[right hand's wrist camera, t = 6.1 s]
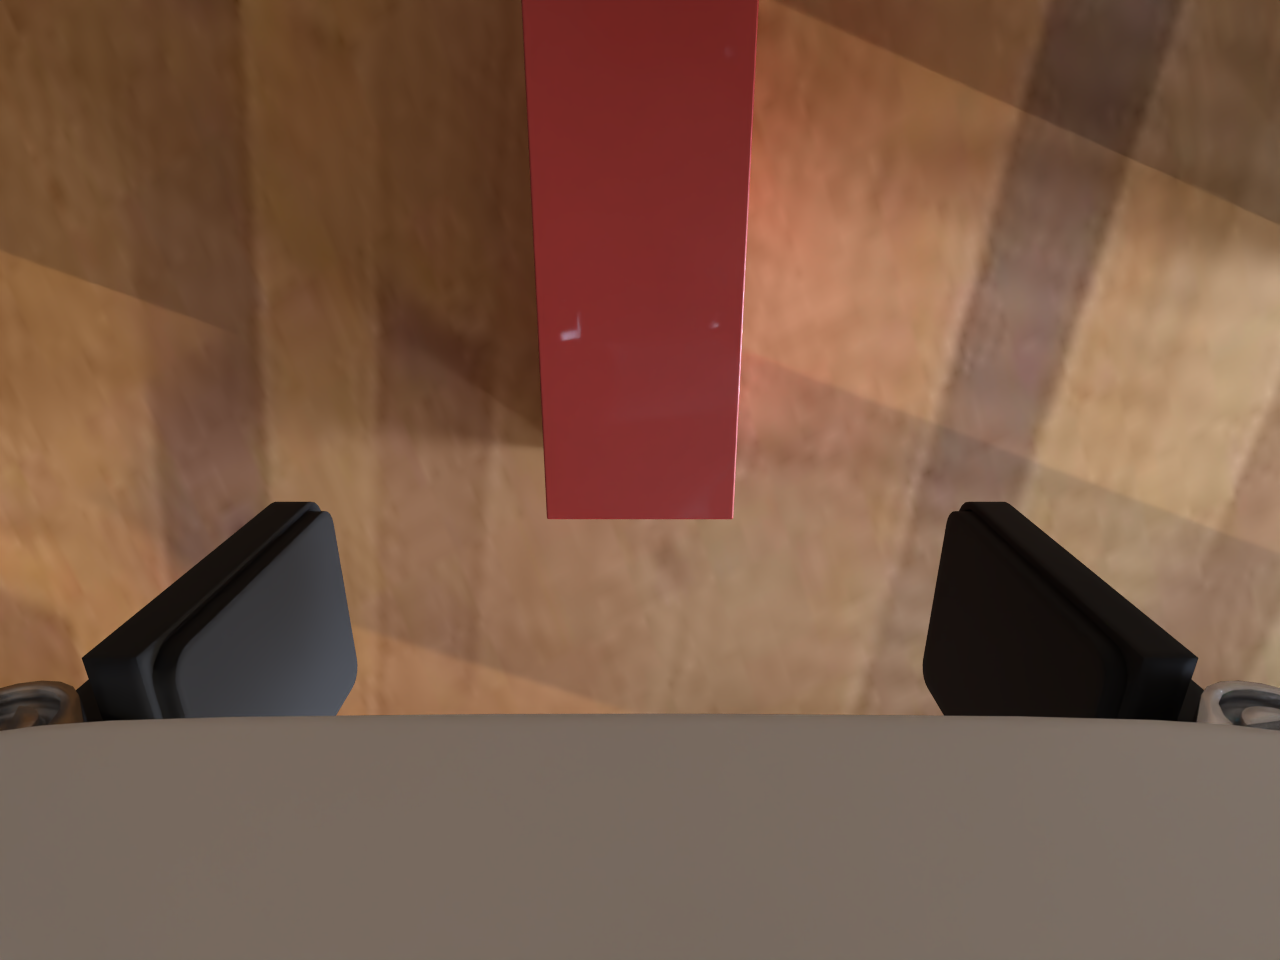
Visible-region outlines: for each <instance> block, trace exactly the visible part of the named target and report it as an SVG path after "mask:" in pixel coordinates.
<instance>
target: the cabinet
mask: <svg viewBox="0 0 1280 960" xmlns="http://www.w3.org/2000/svg"><path fill="white" fill-rule="evenodd" d="M521 1H522V21H523V41H524V62H525V82H526V102H527V122H528V143H529V163H530V183H531V203H532V224H533V244H534V264H535V284H536V305H537V325H538V345H539V365H540V386H541V406H542V426H543V446H544V466H545V487H546V507H547V518H548V519H733V510H734V490H735V470H736V450H737V430H738V410H739V389H740V369H741V349H742V329H743V309H744V288H745V268H746V248H747V228H748V208H749V187H750V167H751V147H752V127H753V107H754V86H755V66H756V46H757V26H758V6H759V0H521Z"/></svg>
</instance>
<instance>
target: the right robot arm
mask: <svg viewBox="0 0 1280 960" xmlns="http://www.w3.org/2000/svg"><path fill="white" fill-rule="evenodd" d="M82 660H83V663H84V666H85V669H86V672H87V675H88V678H89V680H87V681H86V682H85V683H84V684H83V685H82V686H81V687H79V688H78V689H77V690H75V689H74V687H73V686H70V685H68V684H65V683H63V682H57V681H35V682H26V683H18V684H14V685H11V686H7V687H3V688H0V960H1280V688H1277V687H1273V686H1269V685H1266V684H1262V683H1254V682H1245V681H1223V682H1217V683H1215V684H1212V685H1210V686H1207V687H1206V689H1205V690H1203V689H1202V688H1201V687H1199V686H1198V685H1197V684H1196V683H1195V682H1194V681H1193V680H1191V678H1192V675H1193V672H1194V669H1195V666H1196V663H1197V660H1198V657H1196V656H1195V655H1194V654H1193V653H1192V652H1190V651H1189V650H1188V649H1187V648H1185V647H1184V646H1183V645H1182V644H1181V643H1179V642H1178V641H1177V640H1176V639H1174V638H1173V637H1172V636H1171V635H1169V634H1168V633H1167V632H1166V631H1165V630H1163V629H1162V628H1161V627H1160V626H1158V625H1157V624H1156V623H1155V622H1154V621H1152V620H1151V619H1150V618H1149V617H1147V616H1146V615H1145V614H1144V613H1142V612H1141V611H1140V610H1139V609H1138V608H1136V607H1135V606H1134V605H1133V604H1131V603H1130V602H1129V601H1128V600H1127V599H1125V598H1124V597H1123V596H1122V595H1120V594H1119V593H1118V592H1117V591H1116V590H1114V589H1113V588H1112V587H1111V586H1109V585H1108V584H1107V583H1106V582H1104V581H1103V580H1102V579H1101V578H1100V577H1098V576H1097V575H1096V574H1095V573H1093V572H1092V571H1091V570H1090V569H1089V568H1087V567H1086V566H1085V565H1084V564H1082V563H1081V562H1080V561H1079V560H1077V559H1076V558H1075V557H1074V556H1073V555H1071V554H1070V553H1069V552H1068V551H1066V550H1065V549H1064V548H1063V547H1062V546H1060V545H1059V544H1058V543H1057V542H1055V541H1054V540H1053V539H1052V538H1050V537H1049V536H1048V535H1047V534H1046V533H1044V532H1043V531H1042V530H1041V529H1039V528H1038V527H1037V526H1036V525H1035V524H1033V523H1032V522H1031V521H1030V520H1028V519H1027V518H1026V517H1025V516H1024V515H1022V514H1021V513H1020V512H1019V511H1017V510H1016V509H1015V508H1014V507H1012V506H1011V505H1010V504H1008V503H1006V502H965V503H964V504H963V505H962V506H961V508H960V510H959V511H954V512H952V513H951V514H950V515H949V517H948V520H947V524H946V530H945V535H944V541H943V547H942V553H941V559H940V565H939V570H938V576H937V582H936V588H935V594H934V600H933V605H932V611H931V617H930V623H929V629H928V635H927V640H926V646H925V652H924V658H923V675H924V680H925V683H926V685H927V687H928V689H929V691H930V693H931V694H932V696H933V698H934V699H935V701H936V703H937V704H938V706H939V708H940V709H941V711H942V713H943V714H944V716H916V715H798V714H458V715H364V716H336V714H337V713H338V711H339V709H340V708H341V706H342V704H343V703H344V701H345V699H346V698H347V696H348V694H349V693H350V691H351V689H352V687H353V685H354V683H355V680H356V675H357V658H356V652H355V646H354V640H353V635H352V629H351V623H350V617H349V611H348V605H347V600H346V594H345V588H344V582H343V576H342V570H341V565H340V559H339V553H338V547H337V541H336V535H335V530H334V524H333V520H332V517H331V515H330V514H329V513H328V512H326V511H321V510H320V508H319V506H318V505H317V504H316V503H315V502H274V503H272V504H270V505H269V506H268V507H266V508H265V509H264V510H263V511H261V512H260V513H259V514H258V515H256V516H255V517H254V518H253V519H252V520H250V521H249V522H248V523H247V524H245V525H244V526H243V527H242V528H241V529H239V530H238V531H237V532H236V533H234V534H233V535H232V536H231V537H230V538H228V539H227V540H226V541H225V542H223V543H222V544H221V545H220V546H218V547H217V548H216V549H215V550H214V551H212V552H211V553H210V554H209V555H207V556H206V557H205V558H204V559H203V560H201V561H200V562H199V563H198V564H196V565H195V566H194V567H193V568H191V569H190V570H189V571H188V572H187V573H185V574H184V575H183V576H182V577H180V578H179V579H178V580H177V581H176V582H174V583H173V584H172V585H171V586H169V587H168V588H167V589H166V590H164V591H163V592H162V593H161V594H160V595H158V596H157V597H156V598H155V599H153V600H152V601H151V602H150V603H149V604H147V605H146V606H145V607H144V608H142V609H141V610H140V611H139V612H138V613H136V614H135V615H134V616H133V617H131V618H130V619H129V620H128V621H126V622H125V623H124V624H123V625H122V626H120V627H119V628H118V629H117V630H115V631H114V632H113V633H112V634H111V635H109V636H108V637H107V638H106V639H104V640H103V641H102V642H101V643H99V644H98V645H97V646H96V647H95V648H93V649H92V650H91V651H90V652H88V653H87V654H86V655H85V656H84V657H82Z"/></svg>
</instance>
